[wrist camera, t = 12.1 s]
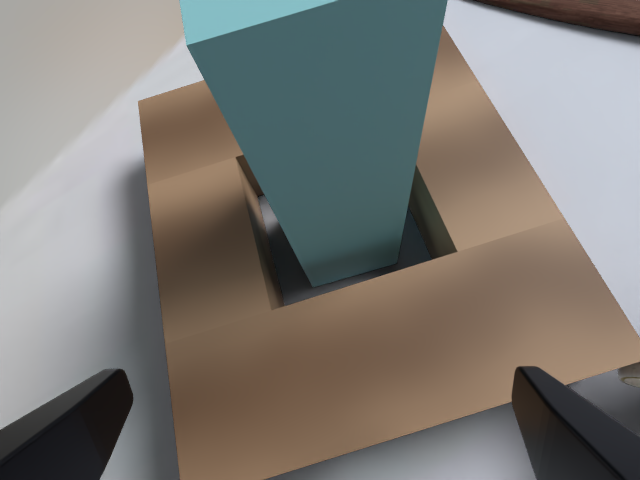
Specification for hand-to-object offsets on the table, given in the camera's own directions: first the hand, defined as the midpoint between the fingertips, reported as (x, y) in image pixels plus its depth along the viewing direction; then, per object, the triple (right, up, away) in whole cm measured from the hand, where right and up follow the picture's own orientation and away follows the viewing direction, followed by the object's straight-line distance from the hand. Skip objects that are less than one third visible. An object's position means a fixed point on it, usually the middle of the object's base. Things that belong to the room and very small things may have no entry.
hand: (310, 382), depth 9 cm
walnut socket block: (+1, +4, +9) cm, 10 cm away
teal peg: (+1, +3, +9) cm, 10 cm away
